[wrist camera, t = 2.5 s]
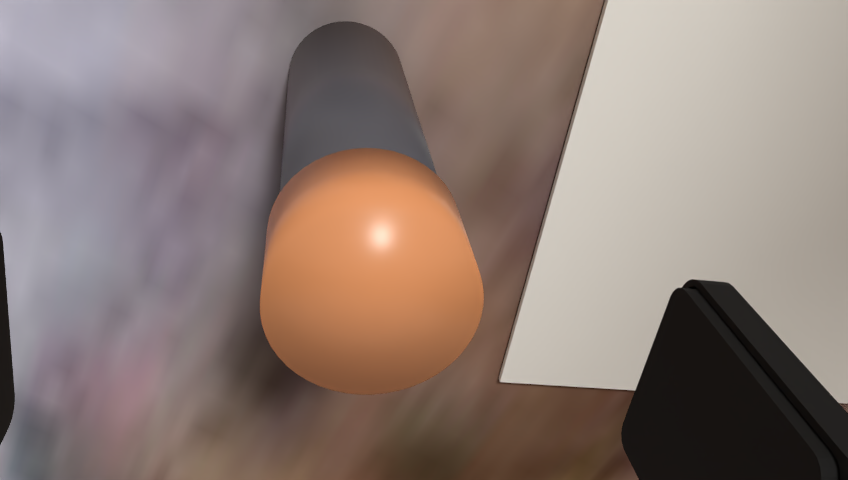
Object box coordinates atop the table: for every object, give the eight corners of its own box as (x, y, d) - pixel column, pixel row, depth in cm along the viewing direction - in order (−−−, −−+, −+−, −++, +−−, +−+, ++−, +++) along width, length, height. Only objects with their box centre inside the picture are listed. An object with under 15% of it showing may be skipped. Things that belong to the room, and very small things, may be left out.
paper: (631, -94, 18) (634, -93, 18) (1118, -2, 21) (1125, 0, 21) (498, 377, 25) (500, 382, 25) (882, 401, 28) (886, 406, 28)
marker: (289, 6, 19) (269, 197, 10) (418, 25, 19) (505, 222, 11) (277, 129, 20) (251, 388, 11) (397, 143, 21) (459, 400, 12)
